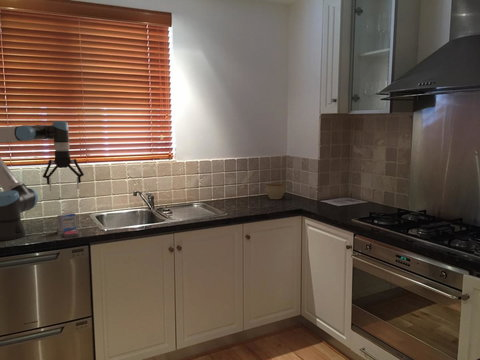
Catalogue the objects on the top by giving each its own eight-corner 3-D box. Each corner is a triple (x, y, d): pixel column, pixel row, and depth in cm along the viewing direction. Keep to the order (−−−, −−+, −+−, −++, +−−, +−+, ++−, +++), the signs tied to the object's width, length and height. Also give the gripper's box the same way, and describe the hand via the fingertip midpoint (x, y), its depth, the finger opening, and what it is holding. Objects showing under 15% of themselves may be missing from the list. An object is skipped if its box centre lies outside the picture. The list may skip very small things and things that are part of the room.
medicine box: (63, 232, 223) (62, 216, 222) (58, 230, 225) (57, 215, 224) (76, 228, 229) (75, 213, 228) (71, 227, 232) (70, 212, 231)
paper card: (57, 234, 220) (57, 233, 220) (58, 228, 232) (58, 227, 232) (77, 232, 223) (76, 231, 223) (77, 227, 235) (77, 226, 235)
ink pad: (63, 237, 214) (63, 234, 214) (64, 234, 220) (64, 231, 220) (78, 236, 216) (78, 233, 216) (78, 232, 223) (78, 230, 223)
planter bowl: (286, 196, 325) (286, 183, 323) (285, 200, 309) (285, 186, 307) (265, 196, 327) (265, 182, 325) (264, 200, 311) (264, 185, 309)
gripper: (35, 151, 214) (38, 192, 217) (87, 150, 222) (89, 189, 225) (36, 150, 220) (39, 190, 223) (86, 149, 229) (89, 187, 232)
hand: (64, 189), depth 224 cm, fingers open, 13 cm apart
